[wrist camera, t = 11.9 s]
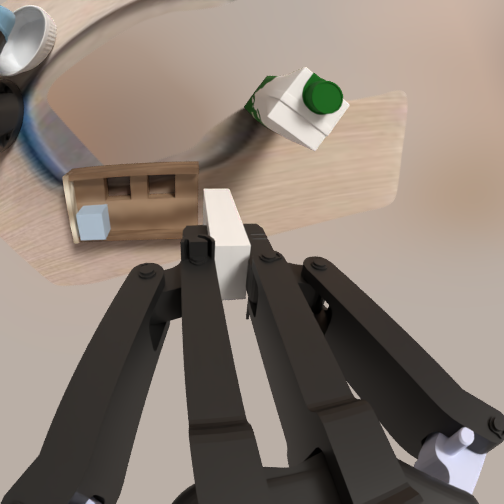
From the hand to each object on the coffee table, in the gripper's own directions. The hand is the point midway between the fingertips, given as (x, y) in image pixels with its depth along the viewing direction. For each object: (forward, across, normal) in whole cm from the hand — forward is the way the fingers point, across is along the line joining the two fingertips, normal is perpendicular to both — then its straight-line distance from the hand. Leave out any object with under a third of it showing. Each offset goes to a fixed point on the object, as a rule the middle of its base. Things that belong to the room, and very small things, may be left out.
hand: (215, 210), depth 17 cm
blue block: (+32, -19, -15) cm, 40 cm away
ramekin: (+35, -33, +21) cm, 52 cm away
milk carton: (+35, +12, +6) cm, 37 cm away
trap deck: (+34, -12, -12) cm, 38 cm away
